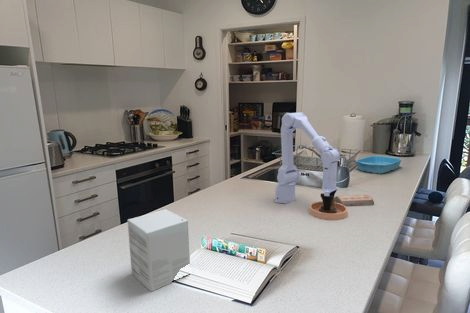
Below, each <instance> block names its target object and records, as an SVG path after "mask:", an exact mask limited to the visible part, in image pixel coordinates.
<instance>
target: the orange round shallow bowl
mask: <svg viewBox="0 0 470 313" xmlns="http://www.w3.org/2000/svg"><path fill="white" fill-rule="evenodd" d="M322 205H323V200H320V201H315V202H311V203H310V204H309V207H308V212H309V214H310V215H311V216H312V217H314V218H317V219H321V220H326V221H327V220H329V221H339V220H344V219H345V218H347V216H348V215H349V214H348V210H349V208H348V206H344V205H342V204H340V203H336V202H335V208H337V213H322V212H319V208H320V206H322Z"/></svg>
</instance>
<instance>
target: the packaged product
mask: <svg viewBox="0 0 470 313" xmlns="http://www.w3.org/2000/svg"><path fill="white" fill-rule="evenodd" d="M334 197H335V202H336V203H340V204H342V205H344V206H346V207H361V206H363V207H364V206H367V207H368V206H373V205H375V200H374V199H373V197H371V196H370V195H369V194H352V195H351V194H350V195H336V196H335V195H334Z"/></svg>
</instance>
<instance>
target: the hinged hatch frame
mask: <svg viewBox="0 0 470 313" xmlns="http://www.w3.org/2000/svg"><path fill="white" fill-rule="evenodd" d="M319 212H322V213H337V208H335V211H333V210H329V211H328V210H324V209H322V206H320V208H319Z"/></svg>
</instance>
